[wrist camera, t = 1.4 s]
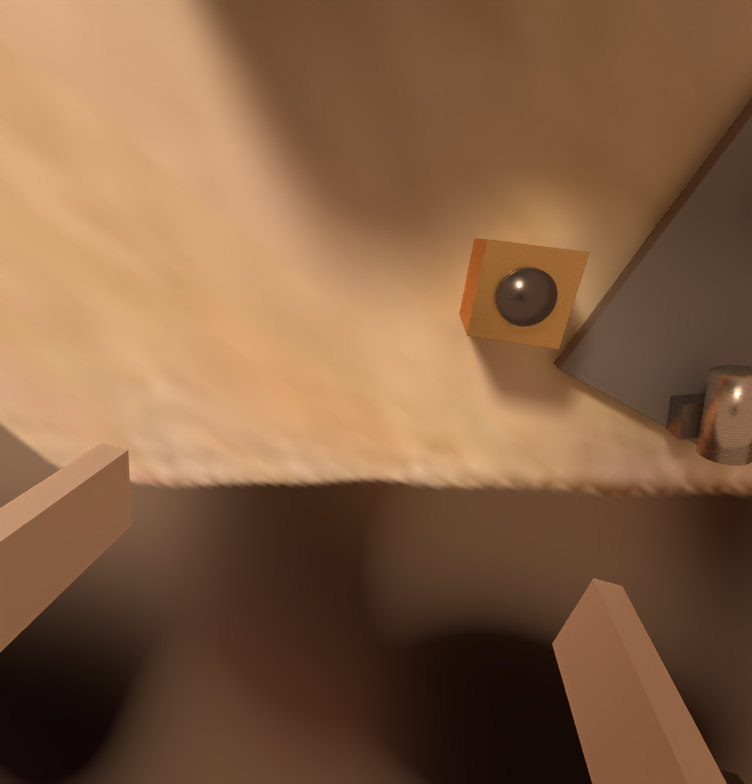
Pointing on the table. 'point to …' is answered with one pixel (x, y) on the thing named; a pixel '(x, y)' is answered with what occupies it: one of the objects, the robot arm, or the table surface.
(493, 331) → the orange rectangular block
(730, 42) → the table surface
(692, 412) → the shaft
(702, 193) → the bolted mounting plate
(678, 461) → the table surface
